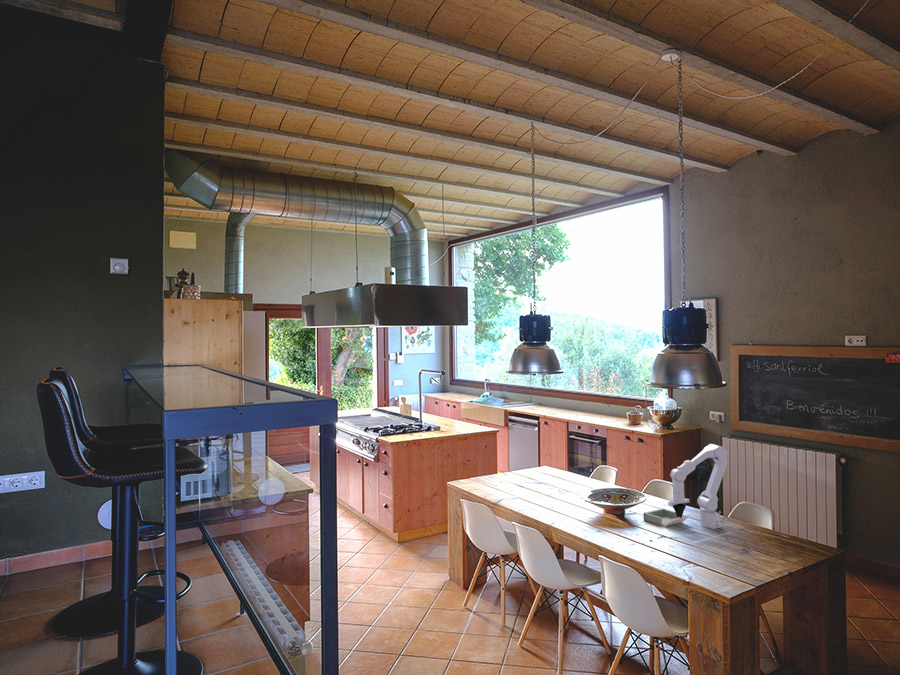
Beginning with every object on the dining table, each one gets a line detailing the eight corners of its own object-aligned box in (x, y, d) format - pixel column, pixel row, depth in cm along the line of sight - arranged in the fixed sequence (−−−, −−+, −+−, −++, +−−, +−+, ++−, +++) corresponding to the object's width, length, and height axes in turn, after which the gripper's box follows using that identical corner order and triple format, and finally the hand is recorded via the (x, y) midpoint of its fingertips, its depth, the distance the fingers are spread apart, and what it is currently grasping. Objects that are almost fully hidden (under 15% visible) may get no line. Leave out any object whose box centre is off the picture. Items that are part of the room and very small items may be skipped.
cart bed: (680, 522, 297) (680, 513, 298) (660, 527, 290) (660, 518, 290) (663, 517, 307) (663, 508, 307) (643, 521, 299) (643, 512, 300)
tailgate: (690, 516, 291) (689, 514, 291) (672, 520, 284) (671, 518, 284) (680, 523, 296) (679, 521, 297) (662, 527, 289) (661, 525, 290)
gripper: (680, 489, 296) (681, 514, 295) (663, 492, 289) (663, 518, 288) (692, 491, 290) (693, 517, 289) (674, 494, 283) (675, 521, 282)
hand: (679, 517), depth 288 cm, fingers closed, pressing on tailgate
